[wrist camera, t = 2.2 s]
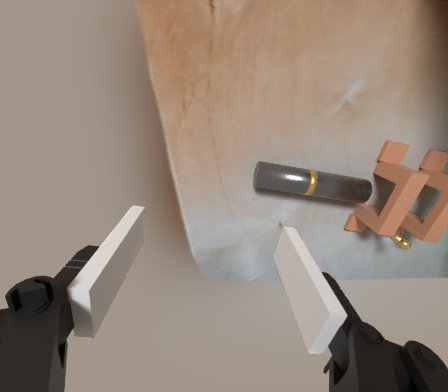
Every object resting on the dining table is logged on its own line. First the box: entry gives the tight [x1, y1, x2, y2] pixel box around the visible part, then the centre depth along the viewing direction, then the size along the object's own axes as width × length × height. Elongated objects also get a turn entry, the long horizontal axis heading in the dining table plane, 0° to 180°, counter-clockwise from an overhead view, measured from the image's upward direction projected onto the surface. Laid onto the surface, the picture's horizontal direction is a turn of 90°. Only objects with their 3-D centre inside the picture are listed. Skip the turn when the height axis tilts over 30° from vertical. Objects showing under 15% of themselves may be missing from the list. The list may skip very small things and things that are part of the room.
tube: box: [253, 161, 372, 204], centre depth 30 cm, size 16×4×4 cm, turn 80°
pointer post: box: [389, 233, 411, 249], centre depth 33 cm, size 2×2×6 cm
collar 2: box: [395, 149, 448, 243], centre depth 31 cm, size 15×3×6 cm, turn 170°
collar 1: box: [344, 141, 430, 237], centre depth 30 cm, size 15×3×6 cm, turn 170°
